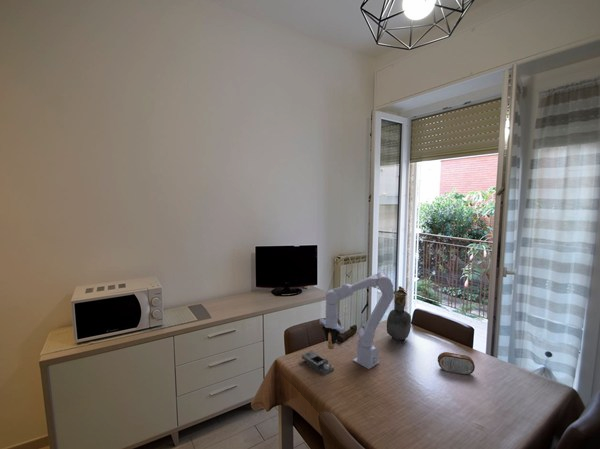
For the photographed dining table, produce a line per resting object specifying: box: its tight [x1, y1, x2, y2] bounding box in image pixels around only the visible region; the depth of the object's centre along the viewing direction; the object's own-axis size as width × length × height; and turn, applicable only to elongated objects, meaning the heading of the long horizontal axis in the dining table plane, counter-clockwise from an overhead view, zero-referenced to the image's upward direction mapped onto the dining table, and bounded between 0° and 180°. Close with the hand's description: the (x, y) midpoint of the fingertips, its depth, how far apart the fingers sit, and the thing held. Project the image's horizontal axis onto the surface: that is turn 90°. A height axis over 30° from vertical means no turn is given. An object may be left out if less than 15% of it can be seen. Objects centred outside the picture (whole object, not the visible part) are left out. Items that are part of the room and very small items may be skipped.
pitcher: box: [386, 286, 412, 344], centre depth 167 cm, size 11×19×30 cm, turn 147°
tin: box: [437, 351, 476, 376], centre depth 136 cm, size 15×3×8 cm, turn 71°
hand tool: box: [336, 324, 358, 344], centre depth 170 cm, size 19×4×5 cm, turn 137°
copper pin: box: [327, 331, 335, 350], centre depth 145 cm, size 3×3×8 cm
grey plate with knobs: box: [301, 350, 335, 376], centre depth 140 cm, size 15×7×3 cm, turn 41°
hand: (331, 341), depth 146 cm, fingers closed on copper pin, 3 cm apart
